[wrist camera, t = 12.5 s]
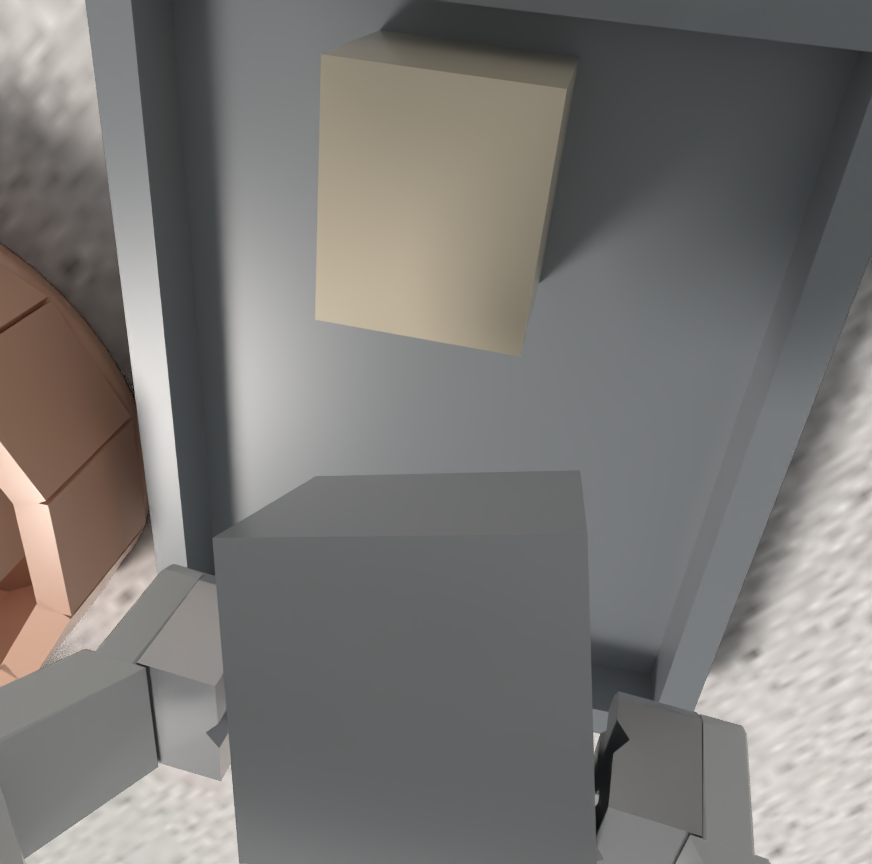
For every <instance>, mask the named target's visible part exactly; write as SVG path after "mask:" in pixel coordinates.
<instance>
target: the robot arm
mask: <svg viewBox="0 0 872 864" xmlns="http://www.w3.org/2000/svg"><path fill="white" fill-rule="evenodd" d="M158 763H161V764H165V765H168V766H172V767H175V768H178V769H182V770H185V771H189V772H192V773H195V774H199V775H202V776H206V777H209V778H212V779H216V780H219V781H221V780H222V778H223V776H224V775H225V773H226V771H227V769H228V767H229V766H230V764H231V757H230V745H229V733H228V721H227V709H226V697H225V685H224V673H223V661H222V649H221V637H220V625H219V613H218V601H217V589H216V577H215V576H214V575H211V574H206V573H203V572H199V571H196V570H193V569H190V568H186V567H183V566H180V565H176V564H172V565H170V566H168V567H167V568H165V569H163V570H162V571H161V572H160V573H159V574H158V575H157V577H156V578H155V579H154V580H153V582H152V583H151V584H150V585H149V587H148V588H147V589H146V590H145V591H144V593H143V594H142V595H141V596H140V598H139V599H138V600H137V601H136V602H135V604H134V605H133V606H132V607H131V609H130V610H129V611H128V612H127V613H126V615H125V616H124V617H123V618H122V620H121V621H120V622H119V623H118V624H117V626H116V627H115V628H114V629H113V631H112V632H111V633H110V634H109V635H108V637H107V638H106V639H105V640H104V642H103V643H102V644H101V645H100V646H99V648H98V649H97V650H96V651H91V650H88V649H83V650H81V651H79V652H77V653H74V654H72V655H70V656H68V657H65V658H63V659H61V660H59V661H57V662H54V663H52V664H50V665H48V666H46V667H43V668H41V669H39V670H37V671H34V672H32V673H30V674H28V675H26V676H23V677H21V678H19V679H17V680H15V681H12V682H10V683H8V684H6V685H4V686H1V687H0V864H26V863H25V860H24V859H25V858H27V857H28V856H29V855H31V854H32V853H34V852H35V851H37V850H38V849H40V848H41V847H42V846H44V845H45V844H47V843H48V842H50V841H51V840H53V839H54V838H56V837H57V836H58V835H60V834H61V833H63V832H64V831H66V830H67V829H69V828H70V827H72V826H73V825H74V824H76V823H77V822H79V821H80V820H82V819H83V818H85V817H86V816H87V815H89V814H90V813H92V812H93V811H95V810H96V809H98V808H99V807H101V806H102V805H103V804H105V803H106V802H108V801H109V800H111V799H112V798H114V797H115V796H117V795H118V794H119V793H121V792H122V791H124V790H125V789H127V788H128V787H130V786H131V785H133V784H134V783H135V782H137V781H138V780H140V779H141V778H143V777H144V776H146V775H147V774H148V773H150V772H151V771H153V770H154V769H156V768H157V767H158ZM594 781H595V817H596V853H597V864H771V863H770V862H769V860H768V859H766V858H763V857H760V856H757V855H755V853H754V838H753V822H752V807H751V791H750V776H749V760H748V745H747V734H746V732H745V730H744V728H743V726H741V725H737V724H734V723H730V722H727V721H723V720H719V719H716V718H712V717H709V716H705V715H702V714H700V715H698V713H696V712H693V711H689V710H685V709H682V708H678V707H674V706H671V705H667V704H663V703H660V702H656V701H652V700H649V699H645V698H641V697H638V696H634V695H630V694H627V693H623V692H619V691H617V692H616V694H615V696H614V698H613V700H612V703H611V706H610V708H609V713H608V721H607V729H606V731H604V732H602V733H601V734H600V737H599V740H598V743H597V746H596V749H595V753H594Z"/></svg>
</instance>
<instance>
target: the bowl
mask: <svg viewBox="0 0 872 864" xmlns="http://www.w3.org/2000/svg"><path fill="white" fill-rule="evenodd" d="M0 488H1V489H2V491H3V492H4V493H5V494H6V496H7V497H8V498H9V499H10V501H11V502H12V503H13V505H14V509H15V513H16V518H17V522H18V526H19V530H20V535H21V539H22V543H23V547H24V551H25V556H24V557H23V558H22V559H21V561H20V562H19V563H18V564H17V565H16V566H15V567H14V568H13V569H12V570H11V571H10V572H9V573H8V574H7V575H6V576H5V577H4V578H3V579H2V581H1V582H0V687H1V686H4V685H6V684H8V683H10V682H12V681H15V680H17V679H19V678H21V677H23V676H26V675H28V674H30V673H32V672H34V671H37V670H39V669H41V668H43V666H44V665H45V664H46V662H47V661H48V660H49V659H50V657H51V656H52V655H53V654H54V652H55V651H56V650H57V648H58V647H59V646H60V645H61V643H62V642H63V641H64V640H65V638H66V637H67V636H68V634H69V633H70V632H71V631H72V629H73V628H74V627H75V625H76V624H77V623H78V622H79V620H80V619H81V618H82V617H83V615H84V614H85V613H86V611H87V610H88V609H89V608H90V606H91V605H92V604H93V603H94V601H95V600H96V599H97V597H98V596H99V595H100V594H101V592H102V591H103V590H104V588H105V587H106V585H107V584H108V582H109V581H110V579H111V577H112V576H113V574H114V573H115V571H116V570H117V568H118V567H119V565H120V564H121V562H122V561H123V559H124V558H125V557H126V555H127V554H128V553H129V552H130V550H131V549H132V548H133V547H134V545H135V543H136V542H137V540H138V538H139V536H140V534H141V532H142V530H143V529H144V527H145V524H146V519H147V515H148V512H149V502H148V494H147V486H146V479H145V471H144V463H143V455H142V447H141V439H140V431H139V423H138V415H137V407H136V403H135V401H134V399H133V396H132V394H131V392H130V390H129V388H128V386H127V384H126V381H125V379H124V377H123V376H122V374H121V372H120V371H119V369H118V367H117V366H116V364H115V362H114V361H113V359H112V357H111V356H110V354H109V352H108V351H107V349H106V348H105V346H104V345H103V344H102V342H101V341H100V340H99V338H98V337H97V336H96V334H95V333H94V332H93V330H92V329H91V328H90V326H89V325H88V324H87V322H86V321H85V320H84V319H83V317H82V316H81V315H80V314H79V313H78V312H77V311H76V310H75V309H74V308H73V306H72V305H71V304H70V303H69V302H68V301H67V300H66V299H65V298H64V297H63V295H62V294H61V293H60V292H59V291H58V290H56V289H55V288H54V287H53V286H52V285H51V284H50V283H49V282H48V281H47V280H46V279H44V278H43V277H42V276H41V275H40V274H39V273H38V272H37V271H36V270H35V269H34V268H32V267H31V266H30V265H28V264H27V263H26V262H24V261H23V260H22V259H20V258H19V257H18V256H17V255H15V254H14V253H13V252H11V251H10V250H9V249H7V248H6V247H5V246H3V245H2V244H0Z"/></svg>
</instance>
